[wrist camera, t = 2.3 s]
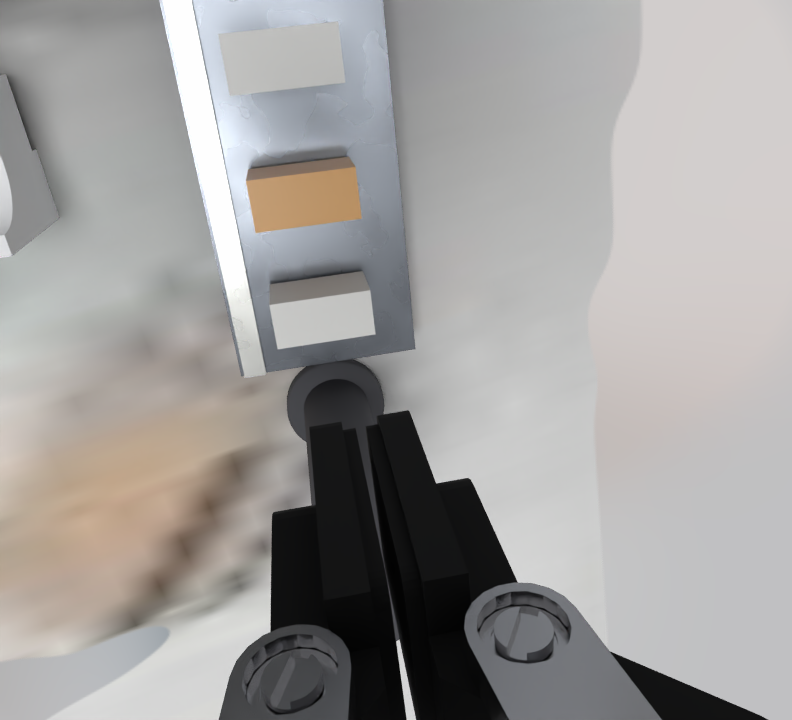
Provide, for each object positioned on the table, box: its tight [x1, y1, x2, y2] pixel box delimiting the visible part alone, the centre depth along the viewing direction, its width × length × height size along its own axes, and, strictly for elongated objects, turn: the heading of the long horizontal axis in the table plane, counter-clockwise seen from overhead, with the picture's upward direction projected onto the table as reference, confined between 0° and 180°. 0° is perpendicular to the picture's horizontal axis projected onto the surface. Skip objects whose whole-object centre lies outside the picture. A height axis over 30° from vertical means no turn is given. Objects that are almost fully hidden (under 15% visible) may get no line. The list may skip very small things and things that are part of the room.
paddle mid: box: [246, 157, 362, 233], centre depth 33 cm, size 2×5×3 cm, turn 96°
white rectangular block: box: [269, 271, 375, 349], centre depth 36 cm, size 2×5×3 cm, turn 96°
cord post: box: [287, 359, 399, 641], centre depth 35 cm, size 6×6×18 cm
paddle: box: [218, 22, 345, 96], centre depth 30 cm, size 2×5×3 cm, turn 96°
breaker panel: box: [159, 0, 415, 378], centre depth 36 cm, size 20×10×3 cm, turn 6°
